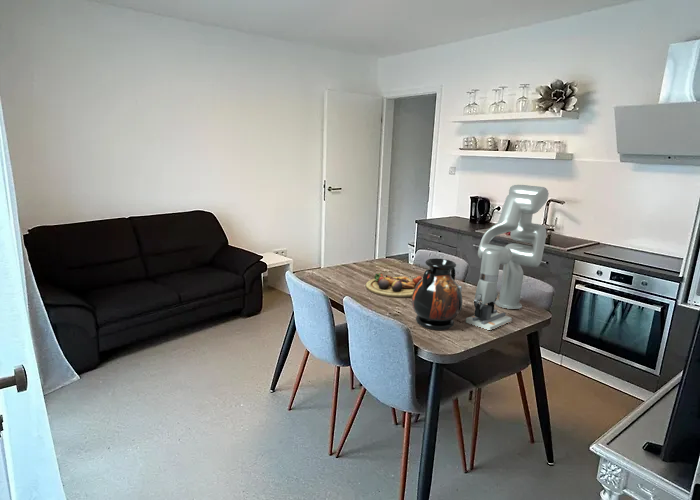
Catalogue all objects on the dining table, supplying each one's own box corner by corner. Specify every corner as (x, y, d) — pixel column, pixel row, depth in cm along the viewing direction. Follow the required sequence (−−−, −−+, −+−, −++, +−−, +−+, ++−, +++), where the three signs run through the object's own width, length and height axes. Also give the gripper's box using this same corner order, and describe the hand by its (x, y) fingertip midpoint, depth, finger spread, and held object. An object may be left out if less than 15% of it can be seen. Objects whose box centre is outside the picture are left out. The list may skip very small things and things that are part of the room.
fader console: (487, 313, 202) (488, 307, 202) (511, 322, 194) (512, 315, 193) (465, 322, 191) (466, 315, 190) (489, 331, 182) (490, 324, 181)
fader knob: (480, 317, 191) (481, 303, 190) (490, 320, 188) (492, 306, 186) (476, 318, 189) (478, 304, 188) (486, 322, 186) (488, 307, 184)
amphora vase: (433, 311, 202) (438, 253, 196) (470, 327, 186) (477, 264, 179) (399, 319, 190) (404, 258, 183) (436, 338, 173) (443, 271, 167)
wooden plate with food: (423, 282, 247) (424, 268, 245) (426, 300, 216) (427, 285, 214) (367, 279, 250) (368, 265, 248) (363, 296, 219) (363, 281, 217)
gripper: (491, 272, 192) (487, 307, 196) (469, 278, 181) (465, 316, 185) (507, 276, 187) (502, 313, 191) (485, 282, 176) (480, 321, 180)
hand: (483, 314), depth 188 cm, fingers open, 9 cm apart
